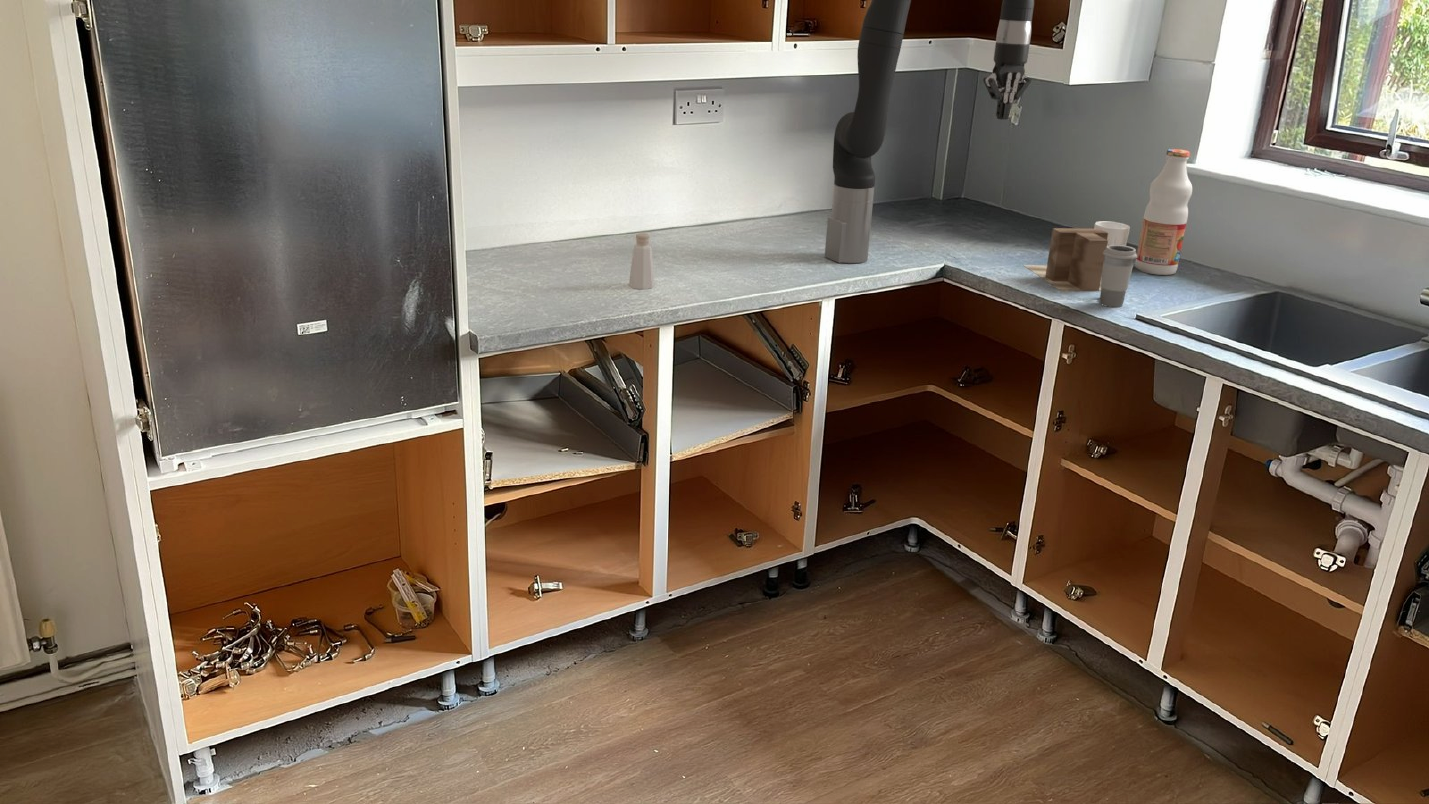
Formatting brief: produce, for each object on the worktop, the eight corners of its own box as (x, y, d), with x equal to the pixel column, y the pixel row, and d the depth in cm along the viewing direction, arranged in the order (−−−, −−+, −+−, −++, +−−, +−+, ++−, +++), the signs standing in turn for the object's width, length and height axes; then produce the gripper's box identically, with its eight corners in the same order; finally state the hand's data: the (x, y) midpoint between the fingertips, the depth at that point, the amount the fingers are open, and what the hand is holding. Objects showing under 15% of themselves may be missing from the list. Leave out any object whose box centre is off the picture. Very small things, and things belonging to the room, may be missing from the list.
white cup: (1125, 265, 262) (1133, 224, 258) (1118, 272, 256) (1126, 230, 252) (1091, 260, 266) (1099, 219, 262) (1084, 267, 259) (1091, 225, 256)
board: (1022, 268, 256) (1023, 265, 255) (1075, 268, 257) (1076, 265, 257) (1060, 294, 236) (1061, 290, 236) (1117, 294, 238) (1117, 290, 238)
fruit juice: (1127, 264, 263) (1149, 146, 252) (1165, 265, 264) (1188, 147, 253) (1144, 275, 254) (1168, 153, 244) (1183, 276, 255) (1208, 154, 244)
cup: (1102, 297, 235) (1112, 242, 231) (1132, 304, 231) (1143, 248, 227) (1088, 303, 230) (1098, 247, 226) (1119, 310, 226) (1130, 254, 222)
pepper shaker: (639, 280, 232) (640, 229, 228) (659, 285, 230) (661, 234, 225) (623, 286, 228) (624, 234, 224) (643, 291, 225) (644, 238, 221)
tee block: (1045, 276, 247) (1053, 228, 242) (1091, 276, 248) (1099, 228, 244) (1066, 290, 236) (1074, 240, 232) (1114, 290, 238) (1123, 240, 234)
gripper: (1001, 42, 244) (990, 122, 250) (1046, 42, 250) (1034, 120, 256) (979, 39, 250) (969, 117, 256) (1023, 40, 256) (1012, 116, 262)
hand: (1002, 118), depth 256 cm, fingers closed
